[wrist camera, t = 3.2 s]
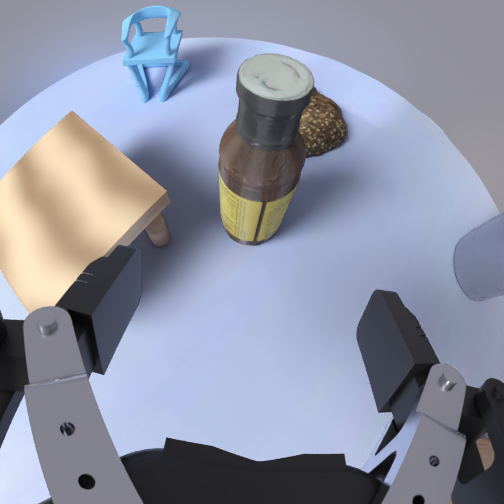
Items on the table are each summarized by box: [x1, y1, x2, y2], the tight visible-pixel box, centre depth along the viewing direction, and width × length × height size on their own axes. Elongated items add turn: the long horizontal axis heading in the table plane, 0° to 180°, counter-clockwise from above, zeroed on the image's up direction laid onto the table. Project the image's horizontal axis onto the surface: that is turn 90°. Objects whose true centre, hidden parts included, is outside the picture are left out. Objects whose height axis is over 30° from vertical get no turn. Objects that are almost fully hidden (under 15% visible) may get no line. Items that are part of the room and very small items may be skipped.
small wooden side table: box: [0, 111, 170, 314], centre depth 26 cm, size 14×14×10 cm
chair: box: [121, 5, 190, 102], centre depth 32 cm, size 8×8×12 cm
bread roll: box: [299, 87, 347, 157], centre depth 36 cm, size 13×12×5 cm
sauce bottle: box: [218, 54, 314, 246], centre depth 23 cm, size 6×6×20 cm
